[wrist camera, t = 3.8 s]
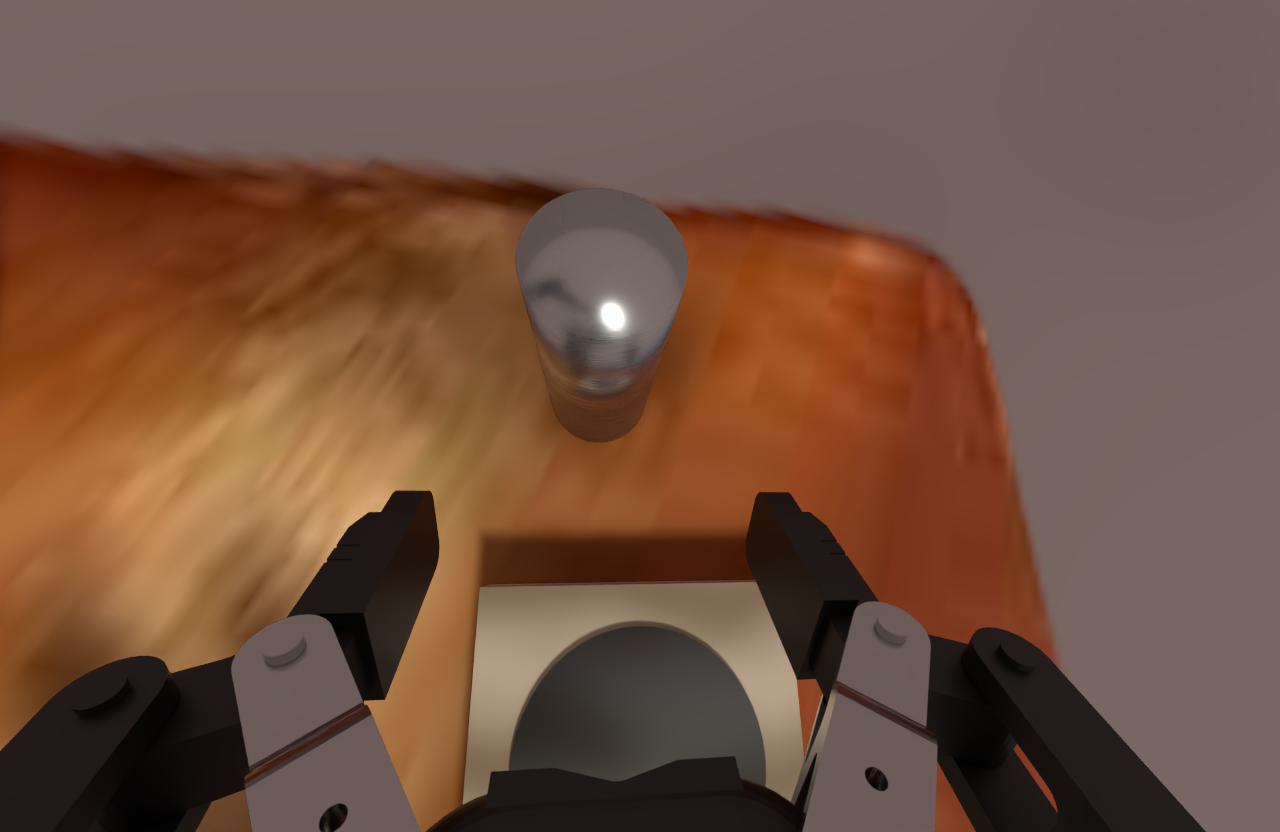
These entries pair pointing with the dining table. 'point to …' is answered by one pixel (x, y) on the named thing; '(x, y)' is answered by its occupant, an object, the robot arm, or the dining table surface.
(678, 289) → the axle
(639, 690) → the rest block
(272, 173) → the dining table surface
